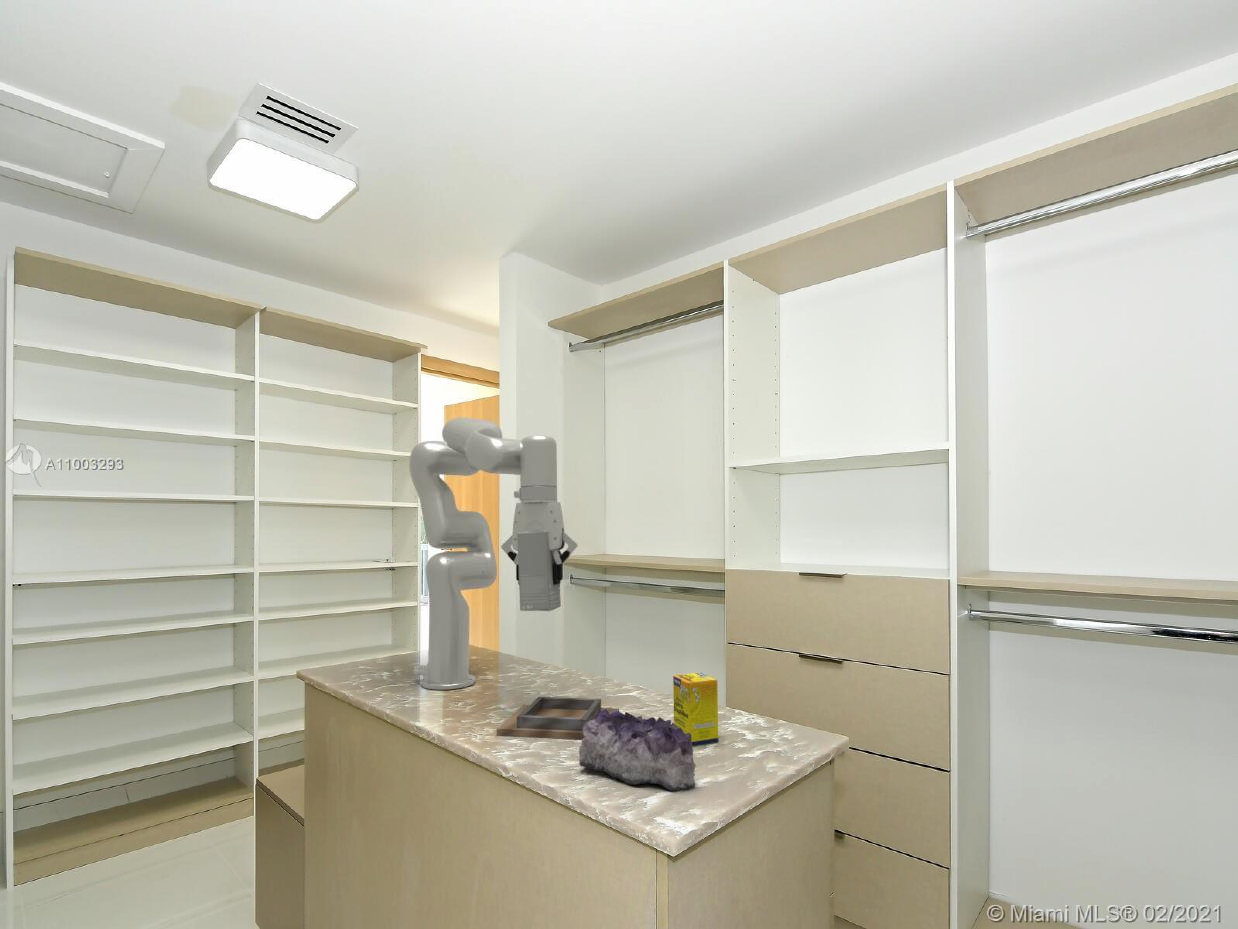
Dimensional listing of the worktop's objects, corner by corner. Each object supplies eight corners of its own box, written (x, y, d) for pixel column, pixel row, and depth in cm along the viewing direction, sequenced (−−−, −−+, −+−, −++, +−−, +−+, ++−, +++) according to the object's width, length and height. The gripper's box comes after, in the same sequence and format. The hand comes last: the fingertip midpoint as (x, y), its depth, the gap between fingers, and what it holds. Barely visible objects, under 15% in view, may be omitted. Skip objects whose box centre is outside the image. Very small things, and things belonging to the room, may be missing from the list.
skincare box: (550, 612, 127) (549, 530, 129) (515, 612, 129) (515, 531, 130) (562, 607, 136) (561, 530, 137) (529, 607, 137) (529, 531, 139)
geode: (716, 775, 101) (713, 711, 100) (677, 812, 91) (674, 742, 91) (610, 744, 113) (607, 686, 112) (566, 774, 103) (563, 712, 103)
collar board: (496, 735, 119) (496, 717, 120) (523, 710, 135) (523, 694, 135) (604, 741, 116) (604, 722, 116) (619, 714, 132) (619, 698, 132)
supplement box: (672, 737, 118) (672, 675, 119) (701, 732, 120) (700, 671, 121) (689, 747, 112) (688, 682, 113) (719, 742, 115) (718, 678, 116)
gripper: (492, 496, 132) (492, 586, 131) (575, 493, 130) (576, 585, 128) (504, 498, 140) (504, 583, 138) (584, 495, 137) (585, 582, 135)
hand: (539, 583), depth 133 cm, fingers closed on skincare box, 6 cm apart
